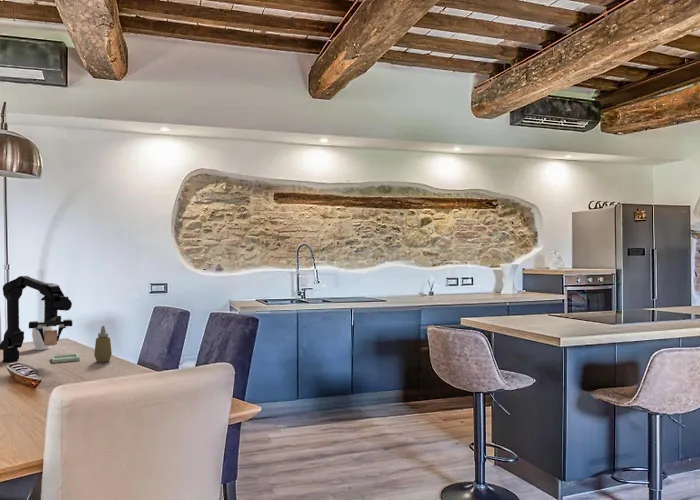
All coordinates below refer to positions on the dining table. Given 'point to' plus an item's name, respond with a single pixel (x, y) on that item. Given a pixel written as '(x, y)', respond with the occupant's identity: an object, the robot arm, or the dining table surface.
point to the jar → (40, 338)
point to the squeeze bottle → (103, 347)
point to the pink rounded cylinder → (50, 337)
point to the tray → (65, 358)
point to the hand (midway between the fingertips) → (50, 341)
